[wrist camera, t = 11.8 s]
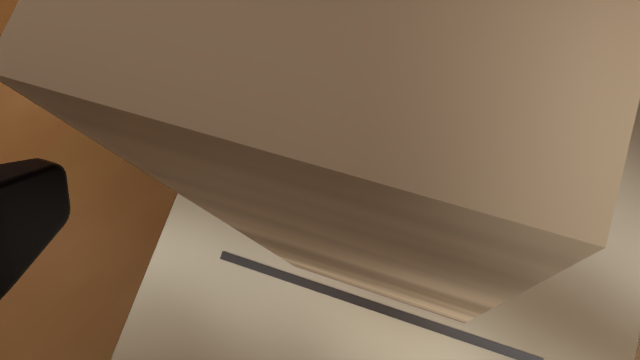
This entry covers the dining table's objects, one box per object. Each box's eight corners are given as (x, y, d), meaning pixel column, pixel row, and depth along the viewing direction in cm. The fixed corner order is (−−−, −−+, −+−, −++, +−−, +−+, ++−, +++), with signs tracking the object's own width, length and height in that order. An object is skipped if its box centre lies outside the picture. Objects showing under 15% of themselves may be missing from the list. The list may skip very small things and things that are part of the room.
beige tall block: (464, 323, 15) (605, 247, 3) (294, 266, 16) (-16, 70, 5) (515, 140, 16) (747, -368, 5) (352, 100, 17) (214, -387, 6)
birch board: (518, 842, 13) (526, 883, 12) (39, 583, 16) (14, 598, 15) (711, -64, 18) (727, -88, 17) (319, -123, 21) (314, -146, 20)
